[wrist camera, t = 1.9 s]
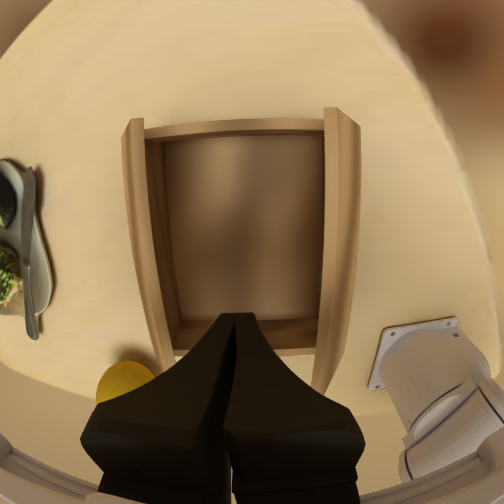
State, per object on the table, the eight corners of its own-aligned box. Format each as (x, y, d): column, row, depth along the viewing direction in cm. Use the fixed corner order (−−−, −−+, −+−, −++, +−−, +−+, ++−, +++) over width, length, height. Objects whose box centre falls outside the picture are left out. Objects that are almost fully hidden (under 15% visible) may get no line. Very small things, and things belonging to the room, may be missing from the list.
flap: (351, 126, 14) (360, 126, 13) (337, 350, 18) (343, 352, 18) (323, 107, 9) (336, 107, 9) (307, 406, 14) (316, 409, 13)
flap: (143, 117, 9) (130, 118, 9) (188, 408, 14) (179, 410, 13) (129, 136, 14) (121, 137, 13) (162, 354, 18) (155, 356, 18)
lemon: (134, 388, 26) (110, 444, 18) (106, 349, 24) (71, 404, 17) (176, 382, 25) (158, 444, 18) (149, 339, 24) (118, 402, 16)
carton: (327, 129, 18) (347, 121, 14) (321, 319, 23) (334, 352, 18) (158, 136, 18) (133, 131, 14) (178, 322, 23) (165, 355, 19)
